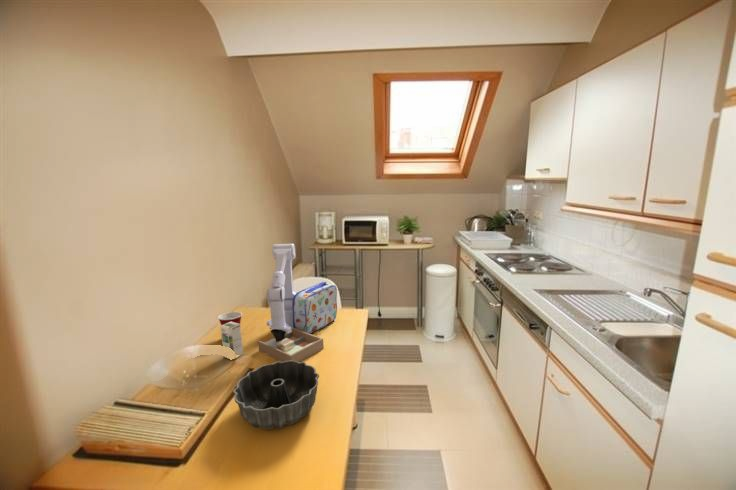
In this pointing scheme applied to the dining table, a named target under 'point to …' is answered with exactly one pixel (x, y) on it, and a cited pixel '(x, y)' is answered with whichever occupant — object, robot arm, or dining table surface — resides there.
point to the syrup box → (232, 337)
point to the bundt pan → (277, 394)
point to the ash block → (285, 344)
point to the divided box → (302, 346)
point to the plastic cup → (230, 317)
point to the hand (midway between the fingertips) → (280, 344)
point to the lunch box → (314, 307)
